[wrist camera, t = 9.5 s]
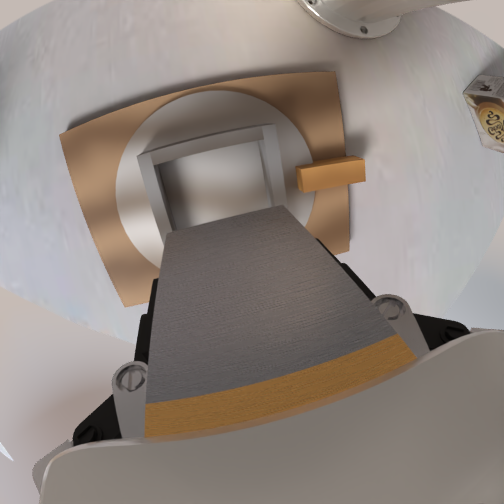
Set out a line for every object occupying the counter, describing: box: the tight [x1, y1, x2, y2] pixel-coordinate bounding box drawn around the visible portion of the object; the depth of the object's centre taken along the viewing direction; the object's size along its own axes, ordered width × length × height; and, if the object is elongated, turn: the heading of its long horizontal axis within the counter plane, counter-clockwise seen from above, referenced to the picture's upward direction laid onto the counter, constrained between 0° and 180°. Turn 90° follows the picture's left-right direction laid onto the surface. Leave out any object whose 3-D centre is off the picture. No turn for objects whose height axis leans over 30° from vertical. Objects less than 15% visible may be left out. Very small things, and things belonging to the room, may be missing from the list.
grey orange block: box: [144, 205, 417, 437], centre depth 9 cm, size 5×5×9 cm
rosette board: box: [59, 71, 366, 307], centre depth 22 cm, size 18×25×4 cm
